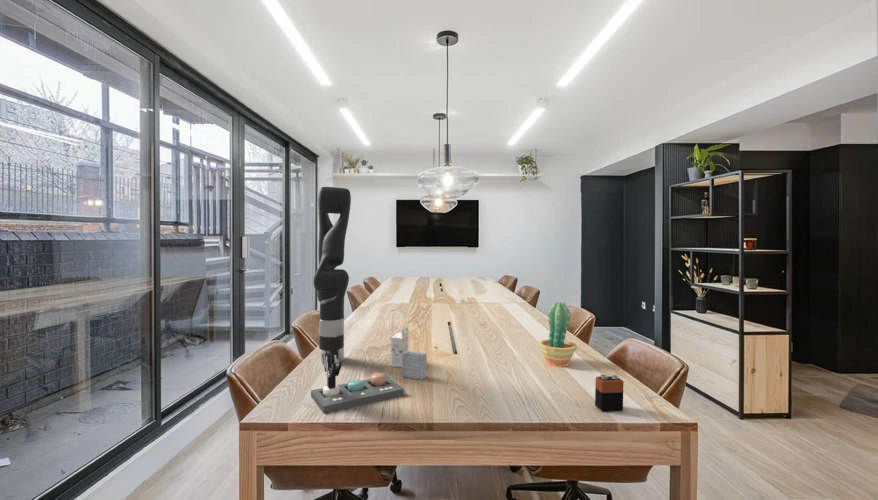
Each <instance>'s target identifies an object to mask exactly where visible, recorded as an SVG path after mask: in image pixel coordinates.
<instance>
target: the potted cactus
mask: <svg viewBox="0 0 878 500" xmlns="http://www.w3.org/2000/svg"><path fill="white" fill-rule="evenodd" d="M547 315H548V316H547V318H548V319H547V323H548V326H549V334H548V339H541V340H539V341H538V346H539V348H540V349H541V352H542V355H543V357H544V358H545V363H546V364H547V363H548V364H547V365H549V364H550V365H549V366H552V365H555V366H554V367H559V366H562V367H566V366H565V365H567V364H569V362H570V360H571V359H572V357H573V355H574V353H575V351H576V350H577V349H578V346H577V343H575V342H572V341H569V340H565V338H566V334H567V331H568V327H569V326H570V324H571V323H570V322H571V316H572V315H571V310H570V309H569V307H568V305H567V304H566V303H565V302H561V301H559V302H557V301H555V302H554V303H553V304H552V306H551V307H550V308H549V310H548V313H547ZM567 366H568V365H567Z"/></svg>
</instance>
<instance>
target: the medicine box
mask: <svg viewBox="0 0 878 500" xmlns="http://www.w3.org/2000/svg"><path fill="white" fill-rule="evenodd" d="M427 373H428V372H427V353H425V352H419V351H412V350H408V351H407V352H405V353H404V354H403V367H402V377H403V378H409V379H414V380H415V379H416V380H420V381H422V380H423V379H424V378H426V377H427Z"/></svg>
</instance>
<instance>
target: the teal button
mask: <svg viewBox="0 0 878 500" xmlns="http://www.w3.org/2000/svg"><path fill="white" fill-rule="evenodd" d="M347 383H348V391H349V392H355V391H359V390H364V382H363V381H362V379H354V380H353V379H352V380H349V381H348V382H347Z"/></svg>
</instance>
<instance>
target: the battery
mask: <svg viewBox="0 0 878 500" xmlns="http://www.w3.org/2000/svg"><path fill="white" fill-rule="evenodd" d="M594 387H595V390H594V391H595V393H594V396H595V397H594V400H595V401H594V404H595V407H596V408H597V409H598V410H600V411H601V412H621V411H623V410H624V380H622V378H619V376H618V375H616V374H613V375H611V376H610V375H609V376H608V375H607V374H601V375H600V376H596V377H595V386H594Z"/></svg>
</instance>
